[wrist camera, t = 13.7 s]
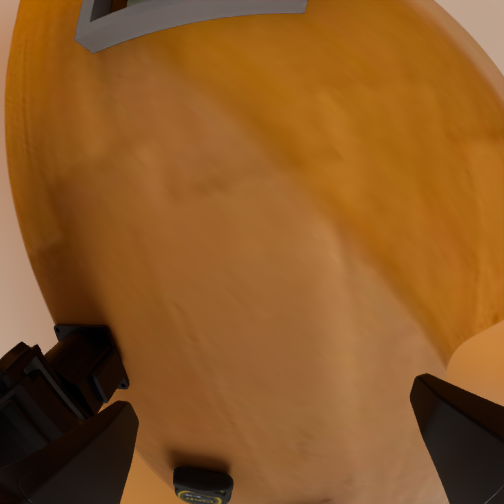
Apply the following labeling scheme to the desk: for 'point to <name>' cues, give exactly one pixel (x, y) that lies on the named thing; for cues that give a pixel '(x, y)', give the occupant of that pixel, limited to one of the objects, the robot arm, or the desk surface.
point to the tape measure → (202, 486)
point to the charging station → (162, 17)
